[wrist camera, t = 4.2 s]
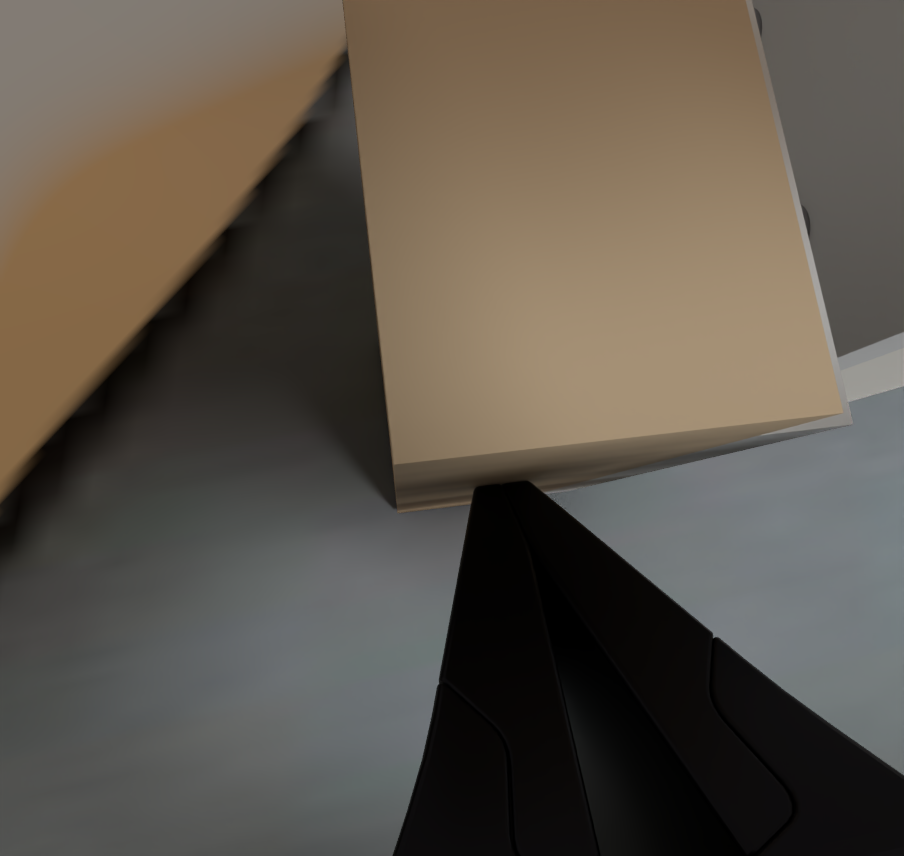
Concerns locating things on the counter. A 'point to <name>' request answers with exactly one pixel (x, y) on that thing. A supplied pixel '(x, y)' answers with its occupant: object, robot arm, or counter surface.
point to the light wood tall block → (581, 242)
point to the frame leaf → (847, 167)
